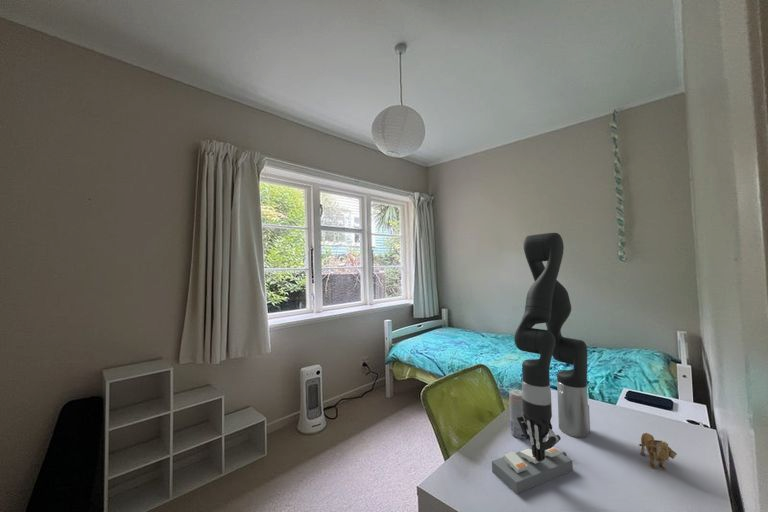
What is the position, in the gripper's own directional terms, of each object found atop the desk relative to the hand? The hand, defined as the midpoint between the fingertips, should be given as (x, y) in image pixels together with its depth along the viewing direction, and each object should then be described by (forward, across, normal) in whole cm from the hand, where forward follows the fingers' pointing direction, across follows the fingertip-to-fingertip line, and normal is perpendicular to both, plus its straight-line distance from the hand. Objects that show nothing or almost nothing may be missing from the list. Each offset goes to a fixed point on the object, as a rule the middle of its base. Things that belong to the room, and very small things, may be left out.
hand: (538, 459), depth 82 cm
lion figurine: (+5, -10, -37) cm, 39 cm away
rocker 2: (+2, +2, -7) cm, 7 cm away
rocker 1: (+2, +3, +6) cm, 7 cm away
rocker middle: (+2, +2, 0) cm, 3 cm away
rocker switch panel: (+5, +2, -2) cm, 6 cm away
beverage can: (+5, +17, -11) cm, 21 cm away
